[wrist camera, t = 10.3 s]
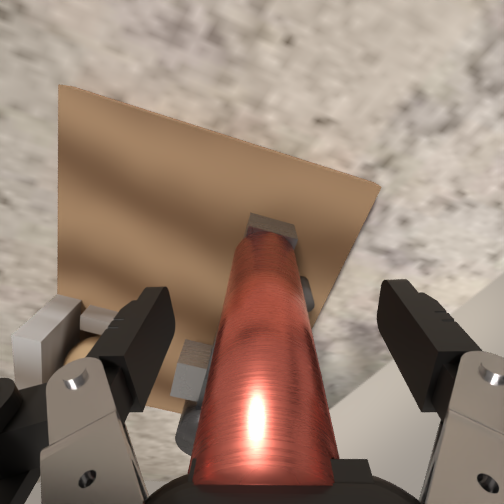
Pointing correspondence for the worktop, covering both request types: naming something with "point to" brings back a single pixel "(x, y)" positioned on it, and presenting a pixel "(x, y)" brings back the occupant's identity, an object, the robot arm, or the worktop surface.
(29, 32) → the worktop surface
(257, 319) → the lever
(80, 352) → the tan wooden ball
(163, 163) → the base
